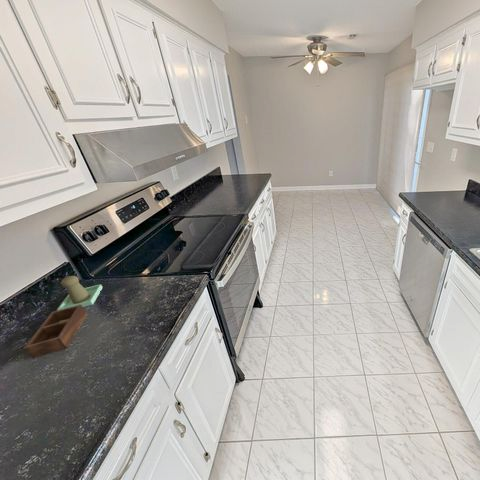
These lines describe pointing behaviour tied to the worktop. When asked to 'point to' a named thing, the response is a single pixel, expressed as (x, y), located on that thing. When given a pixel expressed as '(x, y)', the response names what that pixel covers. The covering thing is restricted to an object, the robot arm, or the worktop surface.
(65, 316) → the caddy
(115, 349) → the worktop surface
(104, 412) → the worktop surface
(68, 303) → the tray
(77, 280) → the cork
